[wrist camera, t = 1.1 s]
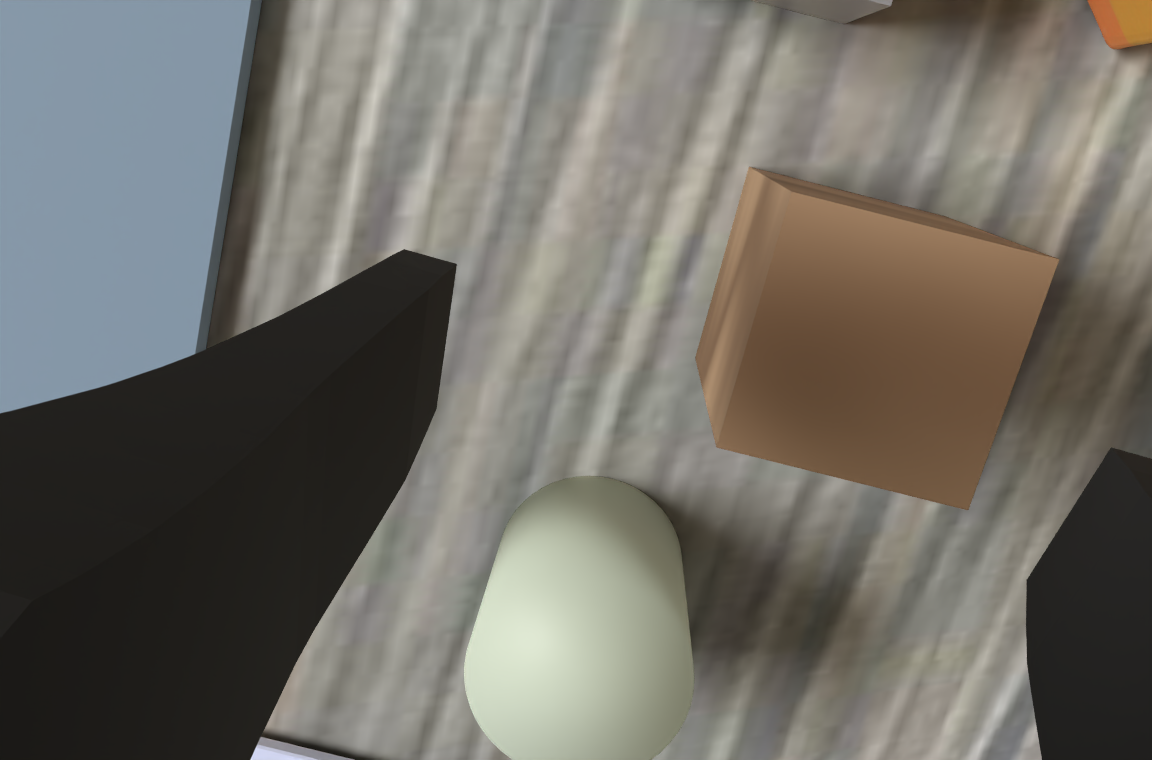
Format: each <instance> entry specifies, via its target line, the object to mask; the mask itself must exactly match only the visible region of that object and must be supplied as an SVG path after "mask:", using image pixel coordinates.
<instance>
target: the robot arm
mask: <svg viewBox="0 0 1152 760" xmlns="http://www.w3.org/2000/svg"><path fill="white" fill-rule="evenodd" d="M456 266H457V264H455V263H451V262H448V261H444V260H440V259H437V258H433V257H430V256H426V255H423V254H419V253H415V252H412V251H408V250H405V249H404V250H402V251H400V252H398V253H396V254H394V255H392V256H390V257H388V258H386V259H385V260H383V261H381V262H379V263H377V264H376V265H374V266H372V267H370V268H368V269H366V270H364V271H363V272H361V273H359V274H357V275H355V276H354V277H352V278H350V279H348V280H346V281H344V282H343V283H341V284H339V285H337V286H335V287H334V288H332V289H330V290H328V291H326V292H324V293H323V294H321V295H319V296H317V297H315V298H313V299H311V300H309V301H307V302H305V303H304V304H302V305H300V306H298V307H296V308H294V309H292V310H290V311H288V312H286V313H284V314H282V315H280V316H278V317H276V318H274V319H272V320H270V321H268V322H265V323H263V324H261V325H259V326H257V327H254V328H252V329H250V330H248V331H246V332H243V333H241V334H239V335H237V336H235V337H232V338H230V339H228V340H226V341H224V342H221V343H219V344H217V345H215V346H213V347H210V348H208V349H206V350H204V351H201V352H199V353H196V354H194V355H191V356H189V357H186V358H184V359H181V360H178V361H176V362H173V363H170V364H168V365H165V366H162V367H160V368H157V369H154V370H151V371H148V372H145V373H142V374H139V375H136V376H133V377H130V378H127V379H124V380H121V381H118V382H115V383H112V384H109V385H106V386H102V387H99V388H95V389H92V390H88V391H84V392H80V393H77V394H73V395H69V396H65V397H61V398H58V399H54V400H50V401H46V402H42V403H39V404H35V405H31V406H27V407H23V408H20V409H16V410H12V411H8V412H3V413H0V760H353V759H349V758H345V757H341V756H337V755H333V754H329V753H325V752H321V751H317V750H313V749H309V748H305V747H300V746H296V745H292V744H288V743H284V742H280V741H276V740H272V739H268V738H264V737H261V735H262V733H263V731H264V729H265V727H266V725H267V723H268V721H269V718H270V716H271V714H272V712H273V710H274V708H275V706H276V704H277V702H278V699H279V697H280V695H281V693H282V691H283V689H284V687H285V685H286V683H287V680H288V678H289V676H290V674H291V672H292V670H293V668H294V666H295V664H296V662H297V660H298V658H299V656H300V655H301V653H302V651H303V649H304V647H305V645H306V644H307V642H308V640H309V638H310V636H311V635H312V633H313V631H314V629H315V628H316V626H317V624H318V623H319V621H320V619H321V618H322V616H323V614H324V613H325V611H326V610H327V608H328V606H329V605H330V603H331V601H332V600H333V598H334V597H335V595H336V593H337V592H338V590H339V588H340V587H341V585H342V583H343V582H344V580H345V579H346V577H347V575H348V574H349V572H350V570H351V569H352V567H353V566H354V564H355V562H356V561H357V559H358V557H359V556H360V554H361V553H362V551H363V549H364V548H365V546H366V544H367V543H368V541H369V539H370V538H371V536H372V535H373V533H374V531H375V530H376V528H377V526H378V525H379V523H380V521H381V520H382V518H383V516H384V515H385V513H386V511H387V510H388V508H389V506H390V505H391V503H392V502H393V500H394V498H395V497H396V495H397V493H398V491H399V490H400V488H401V486H402V485H403V483H404V481H405V479H406V477H407V475H408V473H409V471H410V468H411V466H412V464H413V462H414V459H415V457H416V455H417V453H418V451H419V448H420V446H421V444H422V441H423V439H424V437H425V434H426V432H427V430H428V427H429V425H430V423H431V420H432V418H433V416H434V413H435V411H436V408H437V401H438V394H439V387H440V380H441V373H442V365H443V358H444V351H445V344H446V337H447V330H448V323H449V316H450V309H451V302H452V295H453V288H454V281H455V273H456ZM1026 636H1027V665H1028V673H1029V680H1030V687H1031V693H1032V700H1033V706H1034V712H1035V719H1036V725H1037V732H1038V738H1039V744H1040V749H1041V755H1042V760H1152V459H1150V458H1147V457H1143V456H1139V455H1136V454H1132V453H1129V452H1125V451H1122V450H1118V449H1115V448H1111V449H1110V450H1109V452H1108V453H1107V455H1106V457H1105V458H1104V460H1103V461H1102V463H1101V464H1100V466H1099V468H1098V469H1097V471H1096V472H1095V474H1094V475H1093V477H1092V479H1091V480H1090V482H1089V483H1088V485H1087V486H1086V488H1085V489H1084V491H1083V493H1082V494H1081V496H1080V497H1079V499H1078V500H1077V502H1076V504H1075V505H1074V507H1073V508H1072V510H1071V511H1070V513H1069V515H1068V516H1067V518H1066V519H1065V521H1064V522H1063V524H1062V526H1061V527H1060V529H1059V530H1058V532H1057V533H1056V535H1055V537H1054V538H1053V540H1052V541H1051V543H1050V544H1049V546H1048V548H1047V549H1046V551H1045V552H1044V554H1043V555H1042V557H1041V559H1040V560H1039V562H1038V563H1037V565H1036V566H1035V568H1034V570H1033V571H1032V573H1031V574H1030V576H1029V577H1028V579H1027V602H1026Z"/></svg>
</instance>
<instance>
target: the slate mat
mask: <svg viewBox="0 0 1152 760" xmlns="http://www.w3.org/2000/svg"><path fill="white" fill-rule="evenodd" d="M261 3H262V0H0V413H3V412H8V411H12V410H16V409H20V408H23V407H27V406H31V405H35V404H39V403H42V402H46V401H50V400H54V399H58V398H61V397H65V396H69V395H73V394H77V393H80V392H84V391H88V390H92V389H95V388H99V387H102V386H106V385H109V384H112V383H115V382H118V381H121V380H124V379H127V378H130V377H133V376H136V375H139V374H142V373H145V372H148V371H151V370H154V369H157V368H160V367H162V366H165V365H168V364H170V363H173V362H176V361H178V360H181V359H184V358H186V357H189V356H191V355H194V354H196V353H199V352H201V351H204V350H206V345H207V339H208V333H209V327H210V321H211V314H212V308H213V302H214V296H215V289H216V283H217V277H218V271H219V265H220V258H221V252H222V246H223V240H224V233H225V227H226V221H227V215H228V209H229V202H230V196H231V190H232V184H233V177H234V171H235V165H236V159H237V153H238V146H239V140H240V134H241V128H242V121H243V115H244V109H245V103H246V97H247V90H248V84H249V78H250V72H251V65H252V59H253V53H254V47H255V41H256V34H257V28H258V22H259V16H260V9H261Z"/></svg>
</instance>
